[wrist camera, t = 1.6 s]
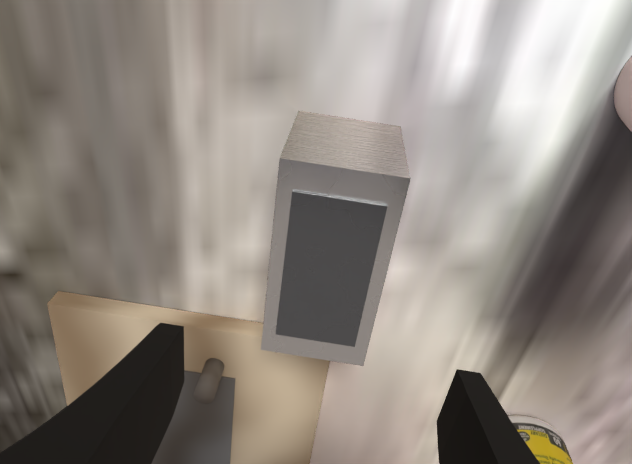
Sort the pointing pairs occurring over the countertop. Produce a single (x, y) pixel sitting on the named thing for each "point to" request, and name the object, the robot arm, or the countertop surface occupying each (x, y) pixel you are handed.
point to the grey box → (332, 235)
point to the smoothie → (624, 95)
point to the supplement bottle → (542, 440)
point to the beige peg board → (200, 380)
